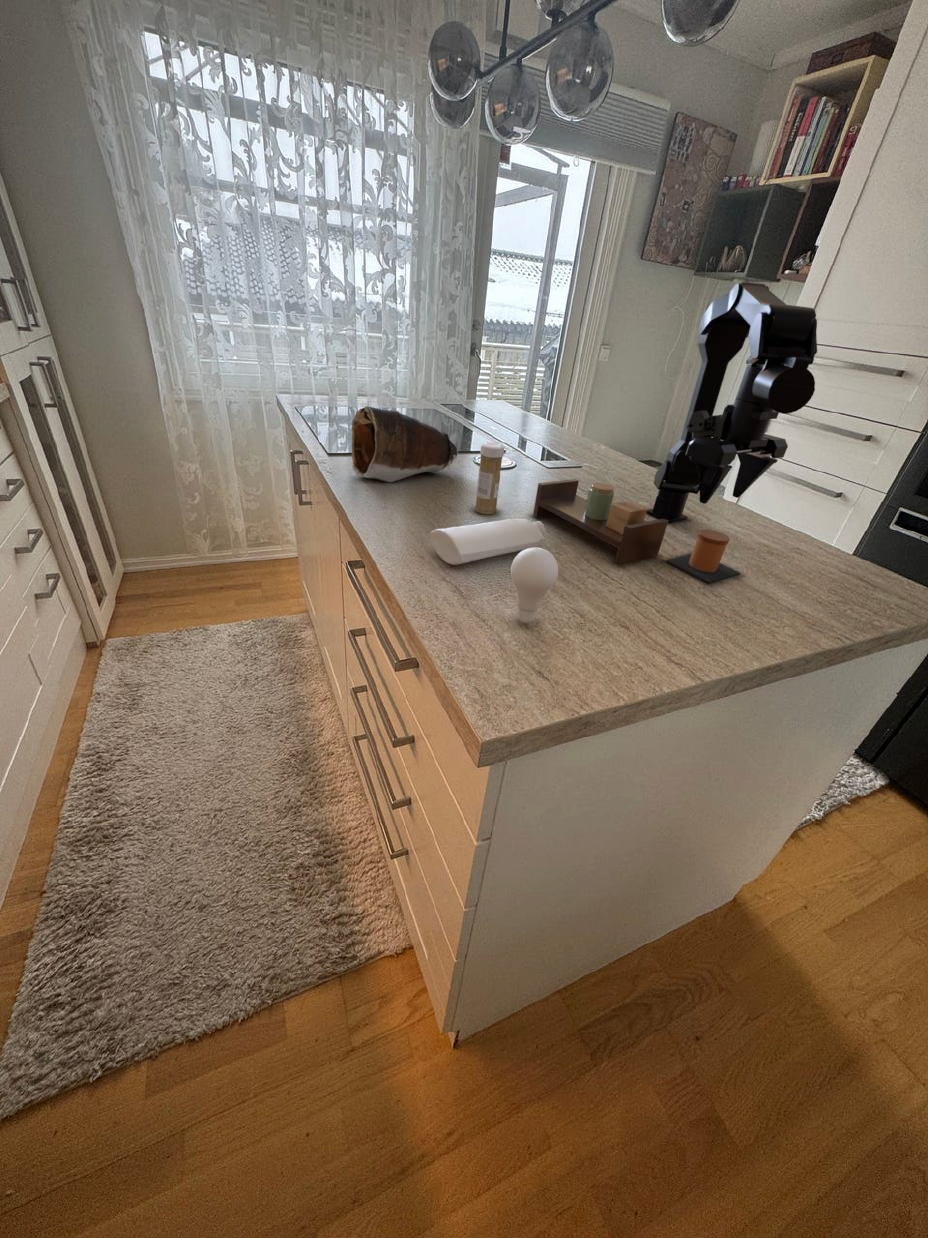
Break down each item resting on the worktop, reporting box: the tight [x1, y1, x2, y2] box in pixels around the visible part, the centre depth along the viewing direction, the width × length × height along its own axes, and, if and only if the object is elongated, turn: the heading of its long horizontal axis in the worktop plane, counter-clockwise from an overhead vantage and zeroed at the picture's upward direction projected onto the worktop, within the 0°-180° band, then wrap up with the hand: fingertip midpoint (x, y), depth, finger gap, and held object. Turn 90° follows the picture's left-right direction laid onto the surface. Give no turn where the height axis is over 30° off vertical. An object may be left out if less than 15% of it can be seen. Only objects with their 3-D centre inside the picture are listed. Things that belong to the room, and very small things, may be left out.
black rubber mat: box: [665, 553, 741, 585], centre depth 92 cm, size 9×9×1 cm
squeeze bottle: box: [430, 518, 546, 566], centre depth 89 cm, size 10×20×5 cm, turn 122°
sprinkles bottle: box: [474, 442, 505, 515], centre depth 103 cm, size 5×5×13 cm
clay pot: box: [351, 406, 459, 484], centre depth 121 cm, size 15×15×25 cm
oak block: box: [606, 500, 648, 534], centre depth 93 cm, size 4×4×4 cm
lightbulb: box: [510, 546, 559, 624], centre depth 68 cm, size 6×6×11 cm
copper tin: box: [689, 528, 730, 572], centre depth 90 cm, size 5×5×6 cm
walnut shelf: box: [532, 478, 669, 566], centre depth 99 cm, size 10×24×7 cm, turn 32°
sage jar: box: [584, 482, 615, 520], centre depth 97 cm, size 5×5×6 cm
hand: (719, 499), depth 87 cm, fingers open, 9 cm apart
